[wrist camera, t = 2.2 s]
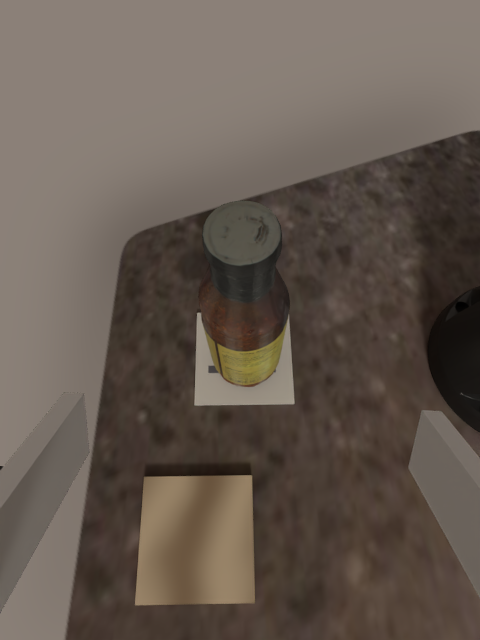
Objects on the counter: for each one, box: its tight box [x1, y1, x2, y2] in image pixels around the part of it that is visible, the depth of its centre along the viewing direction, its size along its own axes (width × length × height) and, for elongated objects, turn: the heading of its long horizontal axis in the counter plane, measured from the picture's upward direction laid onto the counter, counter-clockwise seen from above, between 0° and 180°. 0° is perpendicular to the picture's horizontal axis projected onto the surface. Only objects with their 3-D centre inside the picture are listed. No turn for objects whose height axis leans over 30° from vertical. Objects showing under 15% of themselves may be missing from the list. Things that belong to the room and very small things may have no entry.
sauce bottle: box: [198, 201, 290, 387], centre depth 29 cm, size 6×6×20 cm
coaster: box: [135, 475, 255, 605], centre depth 33 cm, size 9×9×1 cm
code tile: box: [195, 313, 295, 405], centre depth 39 cm, size 9×9×1 cm
